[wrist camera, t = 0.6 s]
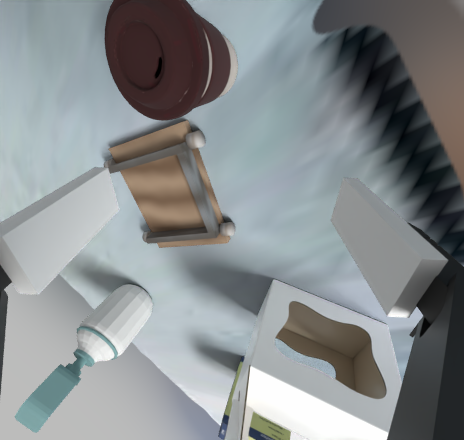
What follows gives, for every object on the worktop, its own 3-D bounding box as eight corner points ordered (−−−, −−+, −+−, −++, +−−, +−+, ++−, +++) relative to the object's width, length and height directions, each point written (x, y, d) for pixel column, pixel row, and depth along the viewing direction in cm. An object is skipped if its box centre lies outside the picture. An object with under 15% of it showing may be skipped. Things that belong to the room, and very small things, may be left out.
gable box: (256, 315, 53) (202, 488, 30) (272, 277, 46) (217, 469, 23) (354, 358, 49) (376, 595, 26) (389, 324, 41) (462, 614, 19)
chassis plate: (107, 149, 44) (90, 154, 41) (198, 116, 35) (185, 119, 31) (156, 244, 53) (145, 254, 49) (239, 238, 43) (232, 250, 40)
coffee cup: (168, 48, 31) (68, 27, 19) (228, -2, 27) (145, -72, 15) (201, 119, 35) (133, 140, 23) (260, 86, 30) (214, 90, 18)
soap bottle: (117, 292, 70) (-1, 409, 45) (127, 272, 63) (-7, 399, 38) (149, 316, 71) (51, 445, 45) (163, 299, 63) (54, 443, 38)
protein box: (287, 395, 66) (278, 469, 53) (236, 372, 69) (216, 436, 57) (297, 379, 60) (289, 458, 47) (241, 355, 64) (220, 422, 51)
